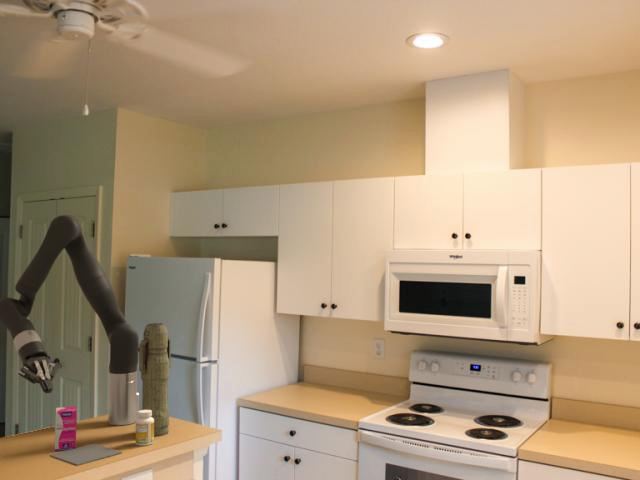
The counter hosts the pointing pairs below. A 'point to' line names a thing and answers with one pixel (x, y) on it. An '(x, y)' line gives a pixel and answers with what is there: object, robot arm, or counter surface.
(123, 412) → the robot arm
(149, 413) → the supplement bottle
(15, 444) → the counter surface
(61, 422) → the supplement box
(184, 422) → the counter surface
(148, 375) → the thermos
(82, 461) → the rubber mat
